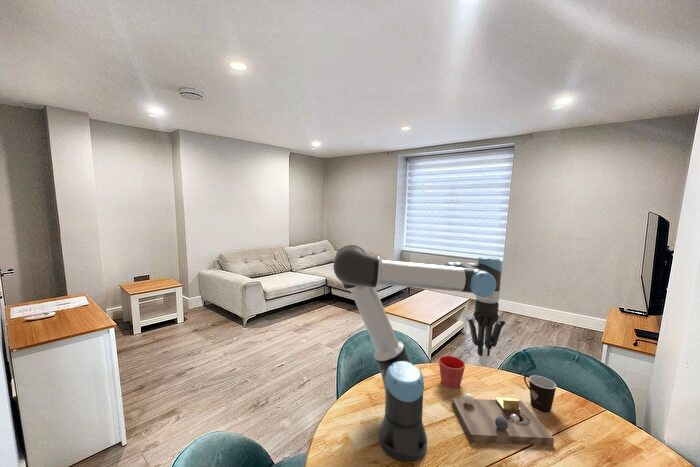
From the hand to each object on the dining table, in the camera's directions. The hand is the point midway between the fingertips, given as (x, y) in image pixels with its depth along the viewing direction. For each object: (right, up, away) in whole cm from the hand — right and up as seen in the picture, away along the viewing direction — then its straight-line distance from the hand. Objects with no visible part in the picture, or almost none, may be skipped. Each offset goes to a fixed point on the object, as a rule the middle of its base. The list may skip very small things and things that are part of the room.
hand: (482, 364), depth 103 cm
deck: (+4, -19, -3) cm, 20 cm away
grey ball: (+2, -15, -10) cm, 18 cm away
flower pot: (-5, -18, +20) cm, 27 cm away
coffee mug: (+25, -19, +7) cm, 32 cm away
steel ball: (+9, -18, -4) cm, 20 cm away
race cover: (+10, -16, +2) cm, 19 cm away
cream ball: (-4, -14, +3) cm, 15 cm away
